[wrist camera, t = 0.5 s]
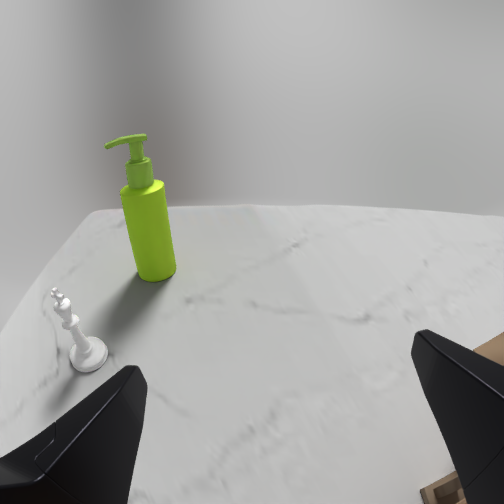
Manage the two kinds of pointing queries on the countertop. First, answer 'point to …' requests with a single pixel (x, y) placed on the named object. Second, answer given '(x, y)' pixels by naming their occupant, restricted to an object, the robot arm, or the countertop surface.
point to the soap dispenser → (146, 214)
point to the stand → (444, 491)
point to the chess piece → (79, 338)
